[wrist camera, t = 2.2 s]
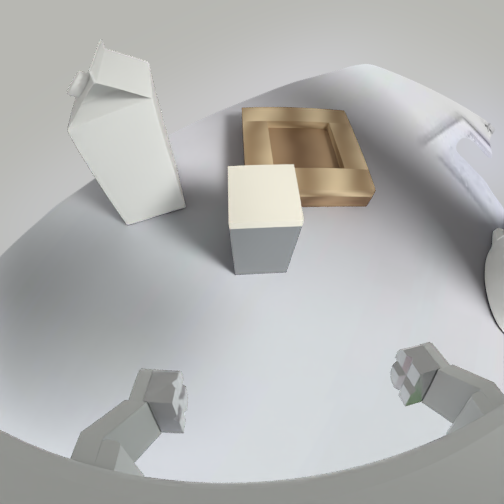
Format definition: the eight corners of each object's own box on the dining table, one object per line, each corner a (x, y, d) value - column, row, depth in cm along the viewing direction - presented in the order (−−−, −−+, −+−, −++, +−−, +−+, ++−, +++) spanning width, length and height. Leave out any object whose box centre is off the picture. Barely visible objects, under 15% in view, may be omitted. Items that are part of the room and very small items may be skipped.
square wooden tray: (339, 127, 37) (344, 110, 34) (366, 206, 31) (375, 190, 28) (242, 125, 37) (241, 107, 34) (246, 208, 31) (246, 191, 28)
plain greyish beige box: (281, 227, 30) (293, 164, 21) (286, 272, 28) (303, 220, 19) (233, 229, 30) (227, 166, 21) (235, 274, 28) (228, 223, 19)
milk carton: (176, 164, 34) (140, 25, 16) (186, 208, 31) (141, 52, 14) (123, 180, 33) (64, 55, 15) (127, 227, 30) (45, 92, 13)
